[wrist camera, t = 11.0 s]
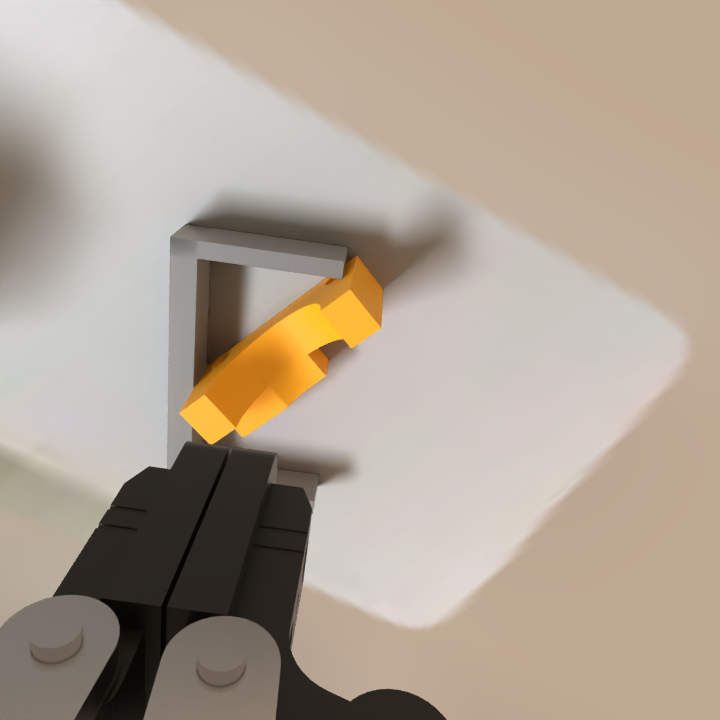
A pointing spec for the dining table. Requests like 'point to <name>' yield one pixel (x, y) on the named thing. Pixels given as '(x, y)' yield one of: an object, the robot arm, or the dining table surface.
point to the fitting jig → (192, 303)
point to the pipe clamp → (284, 355)
